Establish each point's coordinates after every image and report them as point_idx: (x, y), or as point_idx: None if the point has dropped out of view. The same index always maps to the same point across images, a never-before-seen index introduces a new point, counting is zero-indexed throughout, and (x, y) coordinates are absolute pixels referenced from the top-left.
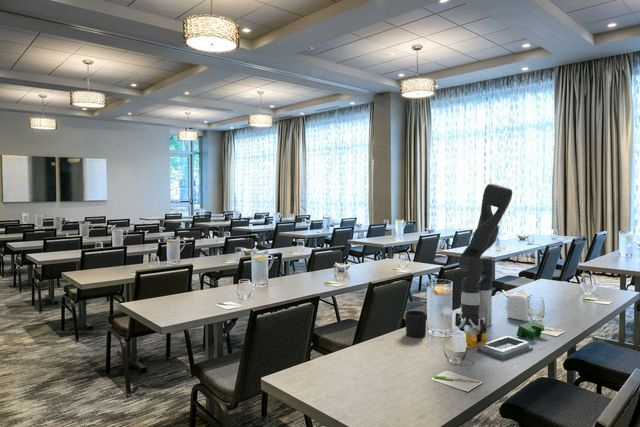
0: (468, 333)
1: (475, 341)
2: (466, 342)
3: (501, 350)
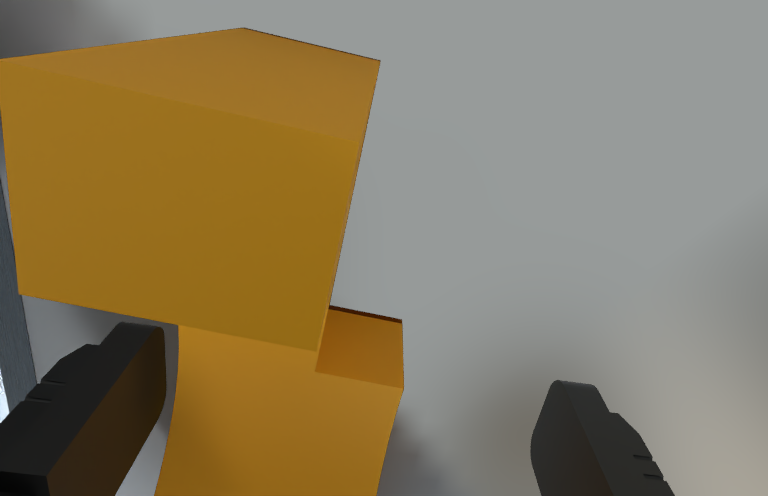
0: (14, 195)
1: (181, 326)
2: (200, 37)
3: None
